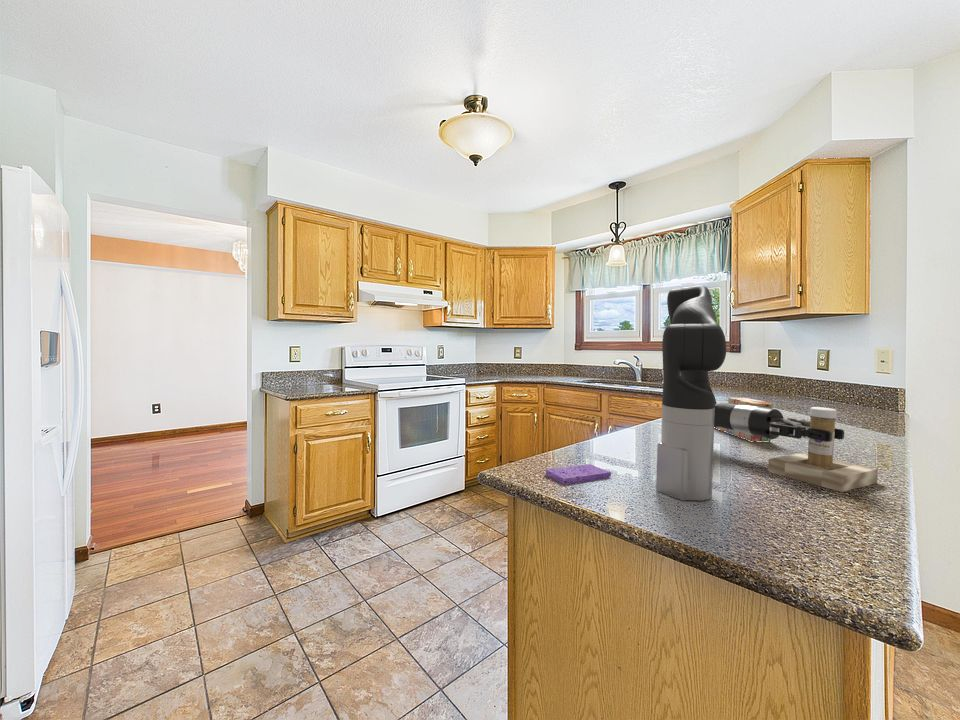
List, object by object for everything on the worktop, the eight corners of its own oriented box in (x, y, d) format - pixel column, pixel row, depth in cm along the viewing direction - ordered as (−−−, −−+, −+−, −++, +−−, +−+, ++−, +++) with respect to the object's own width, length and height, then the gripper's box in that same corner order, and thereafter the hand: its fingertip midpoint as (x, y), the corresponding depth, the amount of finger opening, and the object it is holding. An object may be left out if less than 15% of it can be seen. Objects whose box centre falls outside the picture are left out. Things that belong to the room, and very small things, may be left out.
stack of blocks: (711, 428, 145) (712, 394, 144) (728, 428, 145) (730, 394, 144) (751, 442, 123) (752, 402, 123) (771, 443, 123) (773, 402, 123)
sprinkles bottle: (806, 467, 90) (809, 408, 90) (807, 463, 94) (810, 405, 93) (833, 472, 87) (837, 410, 87) (833, 467, 91) (836, 408, 90)
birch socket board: (841, 491, 81) (842, 477, 81) (768, 471, 94) (768, 458, 94) (877, 482, 87) (877, 469, 87) (803, 465, 100) (803, 453, 100)
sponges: (545, 476, 90) (545, 468, 90) (590, 470, 95) (590, 462, 95) (563, 487, 84) (564, 478, 84) (611, 479, 89) (611, 471, 89)
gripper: (738, 408, 100) (819, 421, 85) (773, 404, 106) (855, 416, 90) (737, 437, 101) (817, 456, 85) (772, 433, 106) (853, 449, 91)
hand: (836, 435), depth 88 cm, fingers closed on sprinkles bottle, 4 cm apart
